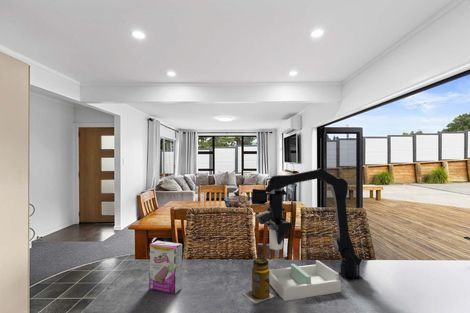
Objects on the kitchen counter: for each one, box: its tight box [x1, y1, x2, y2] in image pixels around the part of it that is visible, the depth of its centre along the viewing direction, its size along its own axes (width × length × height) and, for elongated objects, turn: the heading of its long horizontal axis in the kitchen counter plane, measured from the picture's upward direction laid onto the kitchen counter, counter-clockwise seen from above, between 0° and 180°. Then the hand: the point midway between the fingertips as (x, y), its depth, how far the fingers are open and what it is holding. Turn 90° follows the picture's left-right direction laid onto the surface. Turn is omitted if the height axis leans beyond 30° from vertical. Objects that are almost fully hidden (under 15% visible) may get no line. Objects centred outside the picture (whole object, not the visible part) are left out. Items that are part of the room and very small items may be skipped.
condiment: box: [242, 257, 275, 304], centre depth 88 cm, size 7×8×12 cm
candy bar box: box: [148, 240, 183, 295], centre depth 92 cm, size 11×5×16 cm, turn 71°
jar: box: [268, 224, 284, 251], centre depth 107 cm, size 6×6×9 cm
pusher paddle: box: [290, 263, 311, 285], centre depth 94 cm, size 3×12×5 cm, turn 15°
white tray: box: [269, 260, 342, 302], centre depth 94 cm, size 22×15×6 cm
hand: (276, 242), depth 107 cm, fingers closed on jar, 5 cm apart
